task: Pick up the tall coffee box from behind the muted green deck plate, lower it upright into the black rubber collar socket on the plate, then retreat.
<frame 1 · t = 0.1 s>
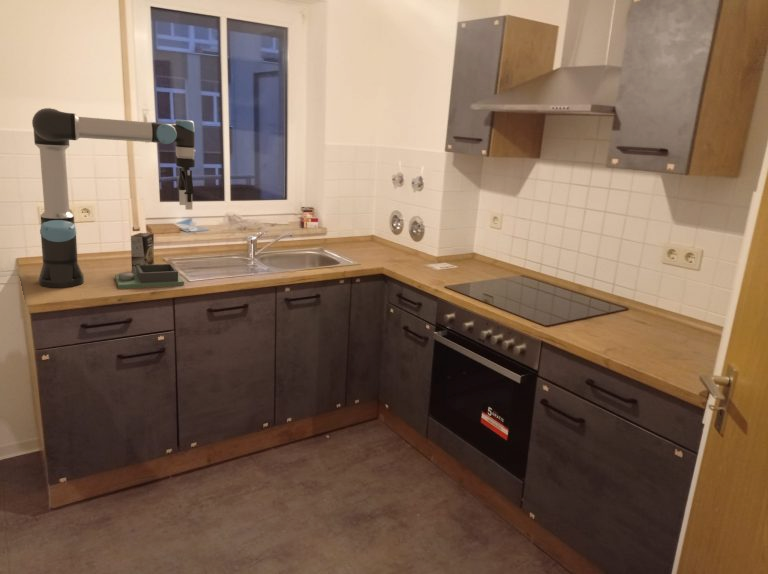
hand: (185, 207, 249), 28 cm above the worktop, tool pointing down, fingers open, 13 cm apart
deck: (149, 281, 232), on the worktop
coffee box: (143, 271, 248), on the worktop
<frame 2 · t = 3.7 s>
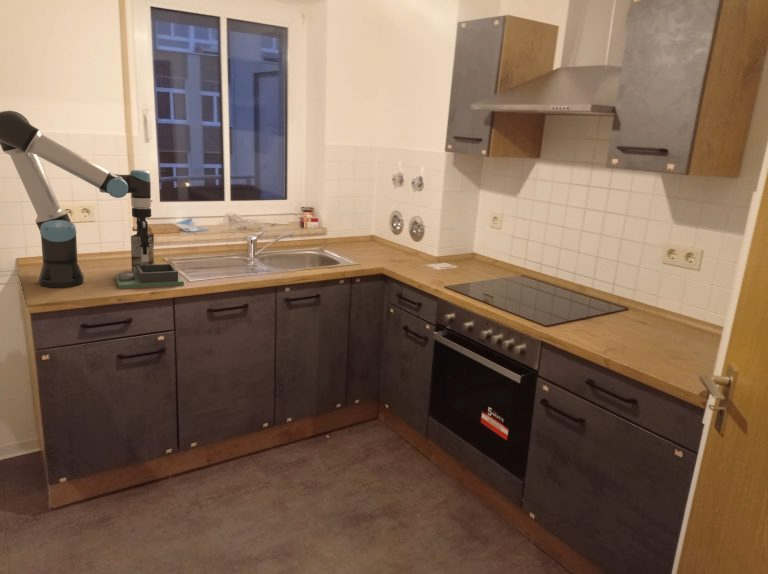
hand: (143, 258, 246), 6 cm above the worktop, tool pointing down, fingers closed on coffee box, 10 cm apart
coffee box: (143, 271, 248), on the worktop, touching gripper
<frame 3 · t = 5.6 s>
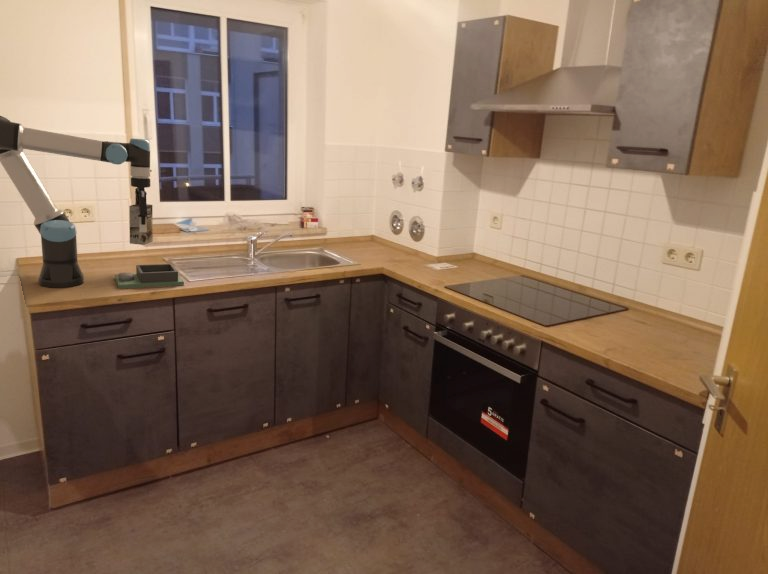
hand: (141, 229, 243), 18 cm above the worktop, tool pointing down, fingers closed on coffee box, 10 cm apart
coffee box: (141, 243, 244), point 12 cm above the worktop, touching gripper
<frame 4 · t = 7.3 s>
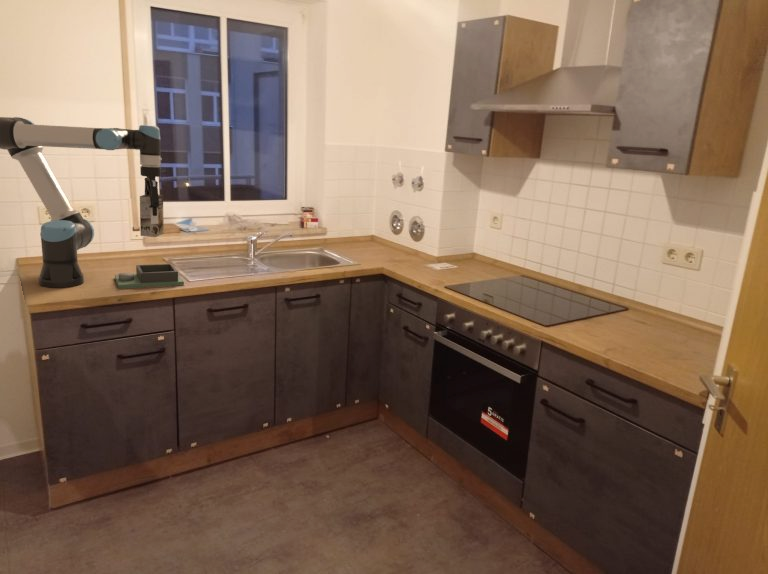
hand: (152, 221, 232), 24 cm above the worktop, tool pointing down, fingers closed on coffee box, 10 cm apart
coffee box: (152, 235, 233), point 18 cm above the worktop, touching gripper
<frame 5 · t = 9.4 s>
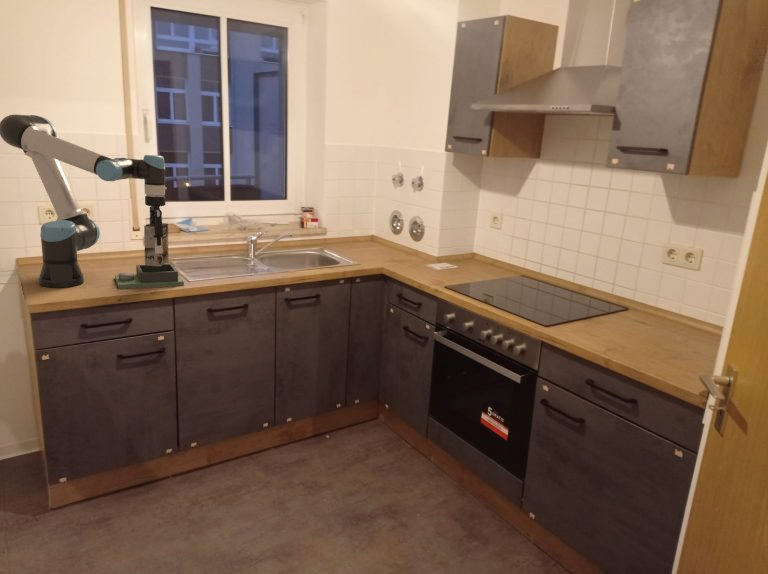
hand: (156, 250, 231), 13 cm above the worktop, tool pointing down, fingers closed on coffee box, 10 cm apart
coffee box: (157, 264, 232), point 7 cm above the worktop, touching gripper
when the fingers open (8 cm above the worktop, at t = 11.3 s): coffee box drops 1 cm, resting on deck.
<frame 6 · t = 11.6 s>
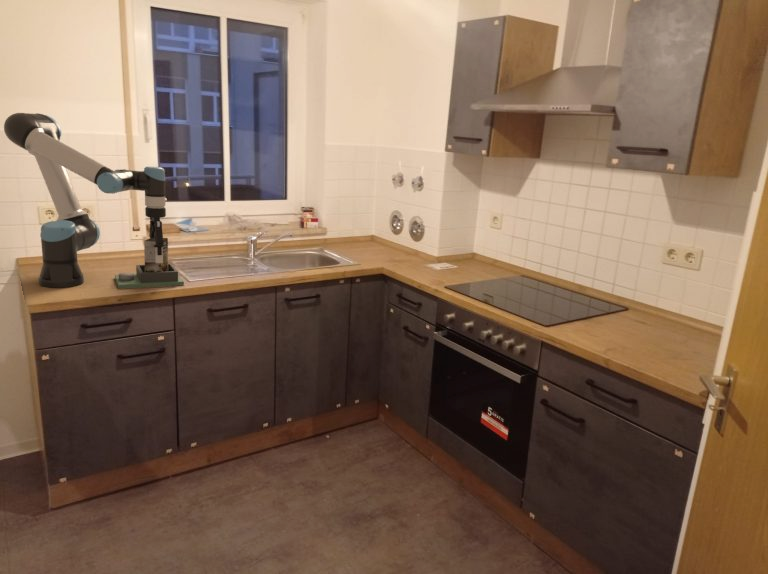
hand: (156, 259, 232), 9 cm above the worktop, tool pointing down, fingers open, 13 cm apart
coffee box: (157, 278, 234), point 1 cm above the worktop, touching deck
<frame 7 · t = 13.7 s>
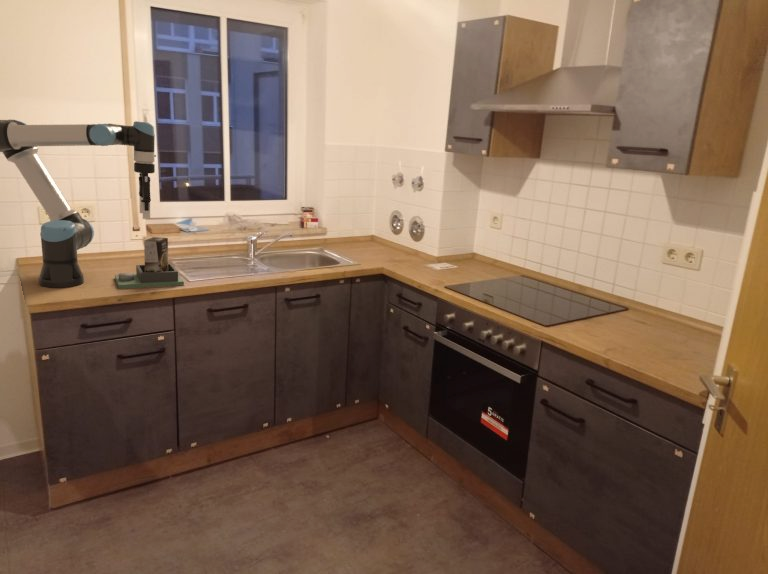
hand: (144, 215, 231), 26 cm above the worktop, tool pointing down, fingers open, 13 cm apart
nothing on the worktop moved.
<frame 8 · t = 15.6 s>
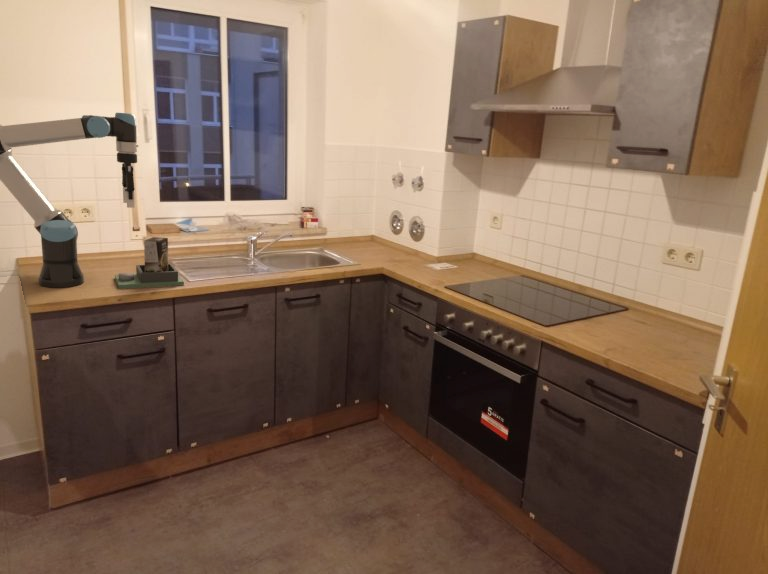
hand: (128, 205, 237), 29 cm above the worktop, tool pointing down, fingers open, 13 cm apart
nothing on the worktop moved.
at the end: coffee box 0.2 cm from the target spot on the deck, point 1.3 cm above the deck's base; coffee box tilted 0°; the gripper is holding nothing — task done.
